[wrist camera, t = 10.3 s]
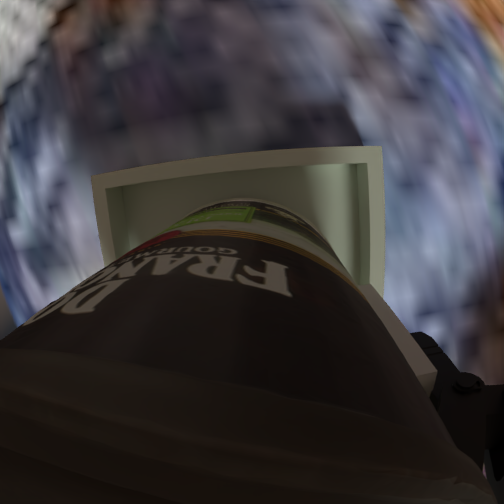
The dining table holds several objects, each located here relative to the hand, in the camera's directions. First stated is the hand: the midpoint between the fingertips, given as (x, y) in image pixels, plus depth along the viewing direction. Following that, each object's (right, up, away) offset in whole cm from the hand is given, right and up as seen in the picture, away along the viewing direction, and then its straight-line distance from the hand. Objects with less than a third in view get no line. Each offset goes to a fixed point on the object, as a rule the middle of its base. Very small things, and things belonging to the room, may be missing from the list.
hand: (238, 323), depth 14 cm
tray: (0, +1, +5) cm, 5 cm away
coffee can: (0, +1, +3) cm, 3 cm away
